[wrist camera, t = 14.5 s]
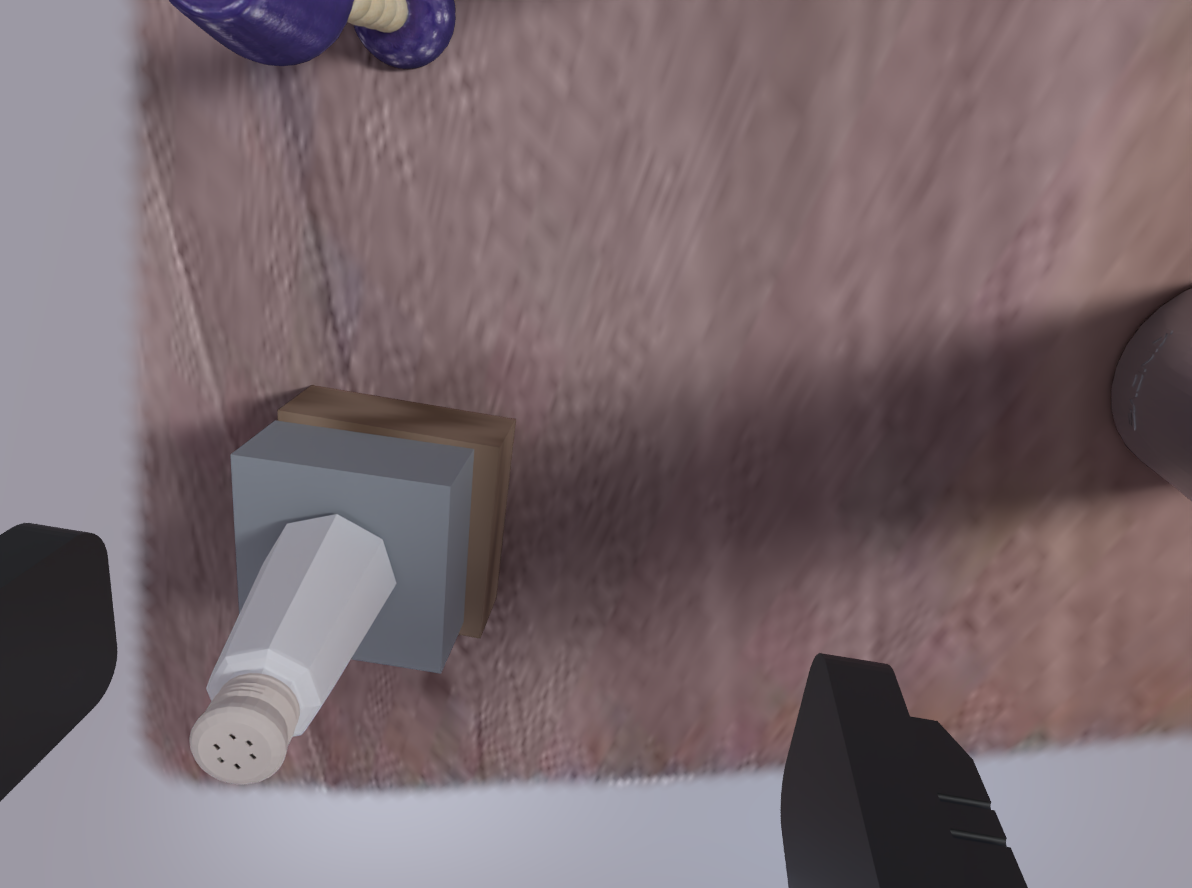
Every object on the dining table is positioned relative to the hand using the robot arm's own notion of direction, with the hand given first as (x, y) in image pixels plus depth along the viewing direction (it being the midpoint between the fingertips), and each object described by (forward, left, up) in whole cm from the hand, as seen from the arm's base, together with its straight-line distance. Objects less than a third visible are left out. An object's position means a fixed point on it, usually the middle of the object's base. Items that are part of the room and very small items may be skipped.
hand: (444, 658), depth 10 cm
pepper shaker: (+10, +13, -22) cm, 28 cm away
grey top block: (+10, +13, -26) cm, 31 cm away
